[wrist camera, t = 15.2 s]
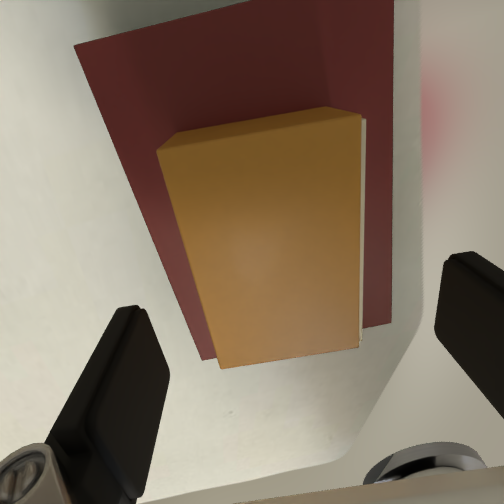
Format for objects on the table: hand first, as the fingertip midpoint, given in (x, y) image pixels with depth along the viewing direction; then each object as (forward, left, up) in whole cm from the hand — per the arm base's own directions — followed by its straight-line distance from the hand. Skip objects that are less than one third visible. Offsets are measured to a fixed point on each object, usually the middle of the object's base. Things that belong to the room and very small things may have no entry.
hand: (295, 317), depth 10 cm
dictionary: (0, 0, -7) cm, 7 cm away
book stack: (0, 0, -13) cm, 13 cm away
